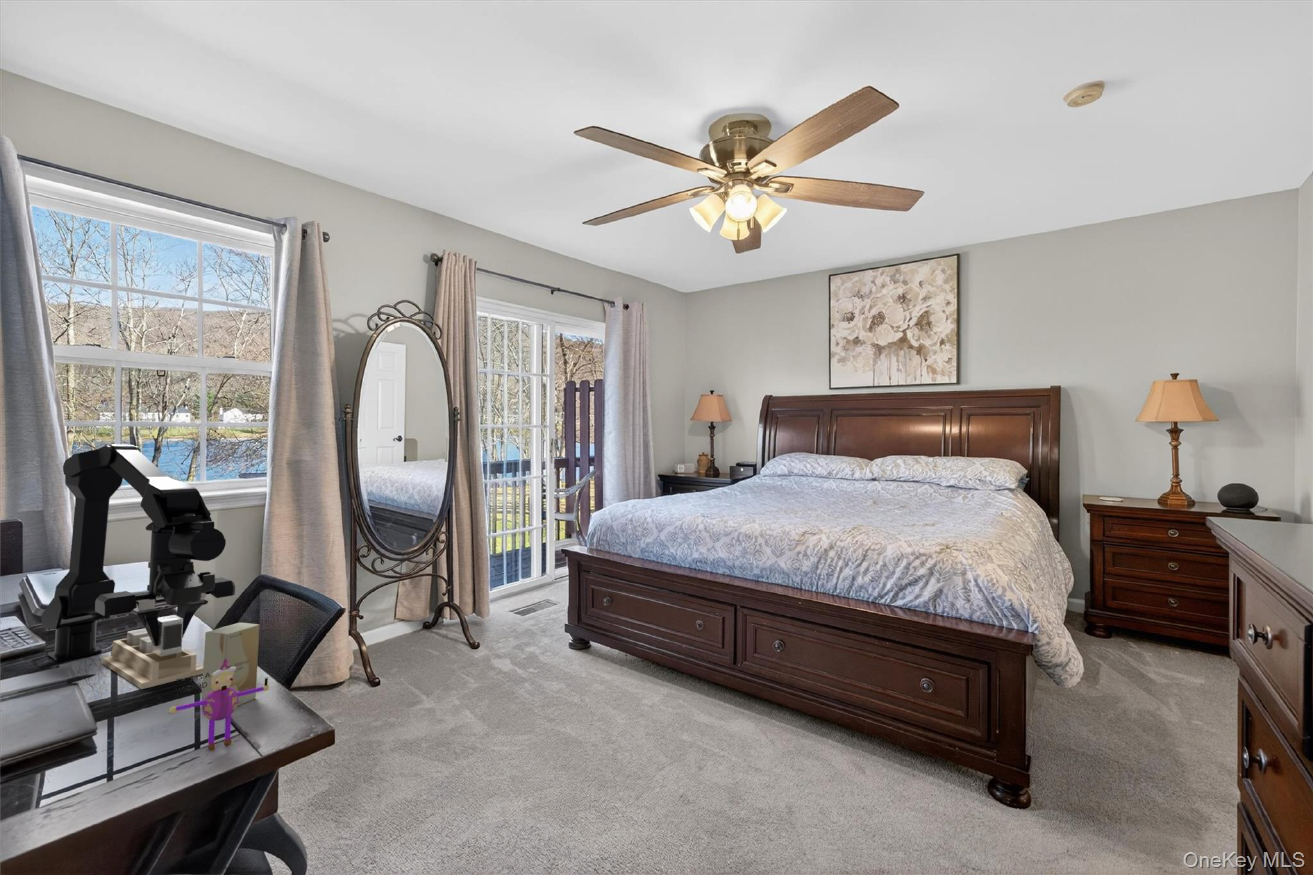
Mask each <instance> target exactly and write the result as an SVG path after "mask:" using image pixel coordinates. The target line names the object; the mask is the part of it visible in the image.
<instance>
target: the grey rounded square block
mask: <svg viewBox="0 0 1313 875" xmlns="http://www.w3.org/2000/svg"><path fill="white" fill-rule="evenodd" d="M158 630H159V641H158V646H154V645H153V653H155V654H157V655H159V656H160V657H162V656H166V655H171V654H175V653H180V652H182V647H183V638H182V633H183V618H181V617H178V616H177V614H172V615H165V616H161V617H160V616H159V617H158Z"/></svg>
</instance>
